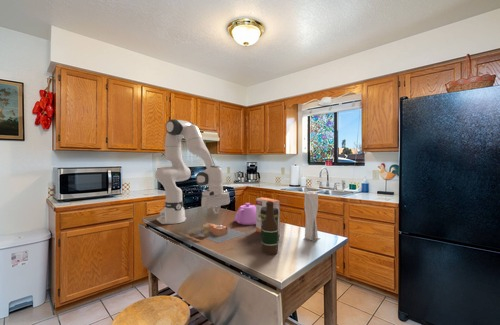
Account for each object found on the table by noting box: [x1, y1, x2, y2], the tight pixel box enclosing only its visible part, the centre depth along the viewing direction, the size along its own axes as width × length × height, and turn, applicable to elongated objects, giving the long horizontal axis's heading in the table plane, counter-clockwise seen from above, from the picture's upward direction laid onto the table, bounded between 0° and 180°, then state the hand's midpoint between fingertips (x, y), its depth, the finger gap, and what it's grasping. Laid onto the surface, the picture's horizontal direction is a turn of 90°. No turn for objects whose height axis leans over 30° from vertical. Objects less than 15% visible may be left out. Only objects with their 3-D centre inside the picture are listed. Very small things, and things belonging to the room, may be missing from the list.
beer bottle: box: [261, 201, 279, 256], centre depth 115 cm, size 8×8×24 cm
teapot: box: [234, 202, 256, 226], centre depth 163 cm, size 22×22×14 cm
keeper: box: [202, 224, 209, 238], centre depth 136 cm, size 6×3×7 cm, turn 17°
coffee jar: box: [260, 206, 280, 242], centre depth 129 cm, size 10×8×19 cm
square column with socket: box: [203, 222, 228, 236], centre depth 142 cm, size 16×6×4 cm, turn 47°
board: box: [192, 227, 248, 244], centre depth 140 cm, size 24×21×1 cm
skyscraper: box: [303, 188, 321, 243], centre depth 133 cm, size 8×8×28 cm
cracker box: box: [255, 196, 281, 237], centre depth 140 cm, size 14×6×21 cm, turn 42°
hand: (216, 213), depth 151 cm, fingers closed
